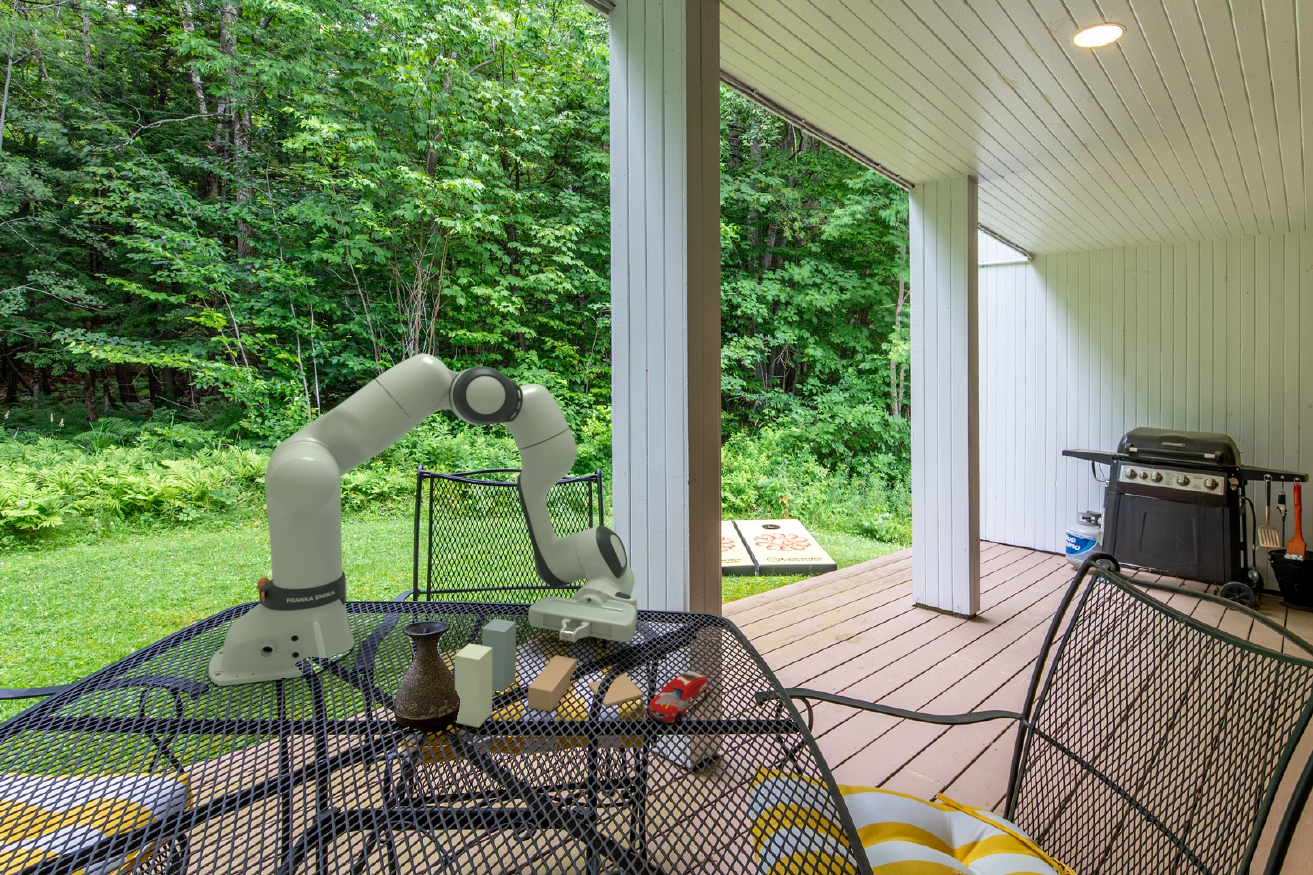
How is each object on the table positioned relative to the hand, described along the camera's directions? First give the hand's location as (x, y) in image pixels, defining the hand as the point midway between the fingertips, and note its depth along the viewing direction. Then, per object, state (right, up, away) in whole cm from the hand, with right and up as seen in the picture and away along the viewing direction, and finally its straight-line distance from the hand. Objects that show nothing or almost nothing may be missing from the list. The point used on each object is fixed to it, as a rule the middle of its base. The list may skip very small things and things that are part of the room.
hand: (567, 637), depth 111 cm
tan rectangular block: (0, -6, +1) cm, 6 cm away
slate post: (-11, -7, -4) cm, 14 cm away
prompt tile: (+9, -8, -4) cm, 12 cm away
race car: (+19, -9, -6) cm, 22 cm away
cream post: (-13, -8, -13) cm, 20 cm away
